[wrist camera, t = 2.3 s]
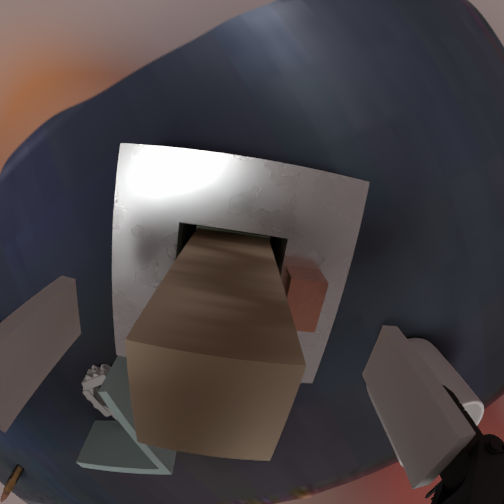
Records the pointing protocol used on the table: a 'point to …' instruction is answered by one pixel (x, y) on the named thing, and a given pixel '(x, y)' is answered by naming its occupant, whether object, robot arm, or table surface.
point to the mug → (442, 382)
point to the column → (216, 351)
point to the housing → (234, 228)
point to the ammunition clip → (11, 481)
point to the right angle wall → (118, 427)
